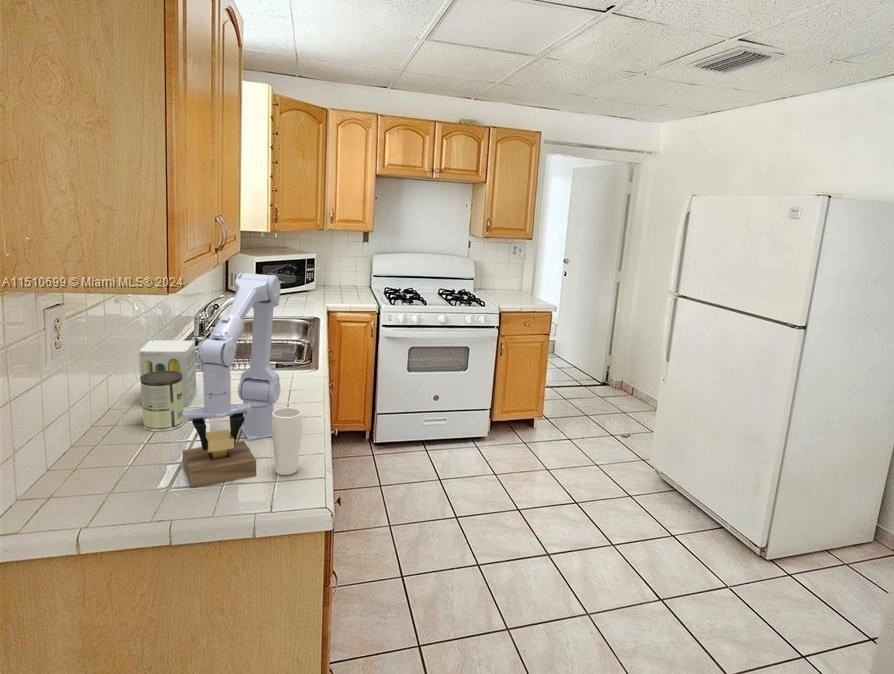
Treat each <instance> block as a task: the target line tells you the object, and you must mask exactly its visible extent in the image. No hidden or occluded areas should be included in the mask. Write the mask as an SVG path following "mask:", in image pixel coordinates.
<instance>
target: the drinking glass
mask: <svg viewBox="0 0 894 674" xmlns="http://www.w3.org/2000/svg"><path fill="white" fill-rule="evenodd" d="M302 416H303V415H302V411H301V410H300V409H299V408H296V407H290V406H289V407H288V406H287V407H280V408H276V409H273V412H272V437H271V438H272V444H273V455H274V456H273V457H274V470H275V473H277V474H278V475H281V476H291V475H293V474H295V473H296V472H298V469H299V457H300V449H301V447H300V446H301V438H302V427H303V425H302V423H303V422H302Z"/></svg>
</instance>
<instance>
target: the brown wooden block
mask: <svg viewBox="0 0 894 674" xmlns="http://www.w3.org/2000/svg"><path fill="white" fill-rule="evenodd" d="M181 451H182V467H183V469H184V472H185V475H186V477H187V480H188V482H189V487H190V488H191V489H194V488H198V487H200V488H201V487H205V486H209V485H210V486H211V485H215V484H219V483H224V482H231V481H235V480H241V479H247V478H251V477H256V476H257V459H256V458H255V456H254V454H253V453H252V451H251V449H250V448H249V446H248V444H247V443H246V442H245V440H238V441H237V440H236V443H235V446H234V448H233V449H227V458H221V459H215V460H211V458H210V452H208V451H207V450H203V449H202V446H201V447H194V448H187V449H182V450H181Z"/></svg>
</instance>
